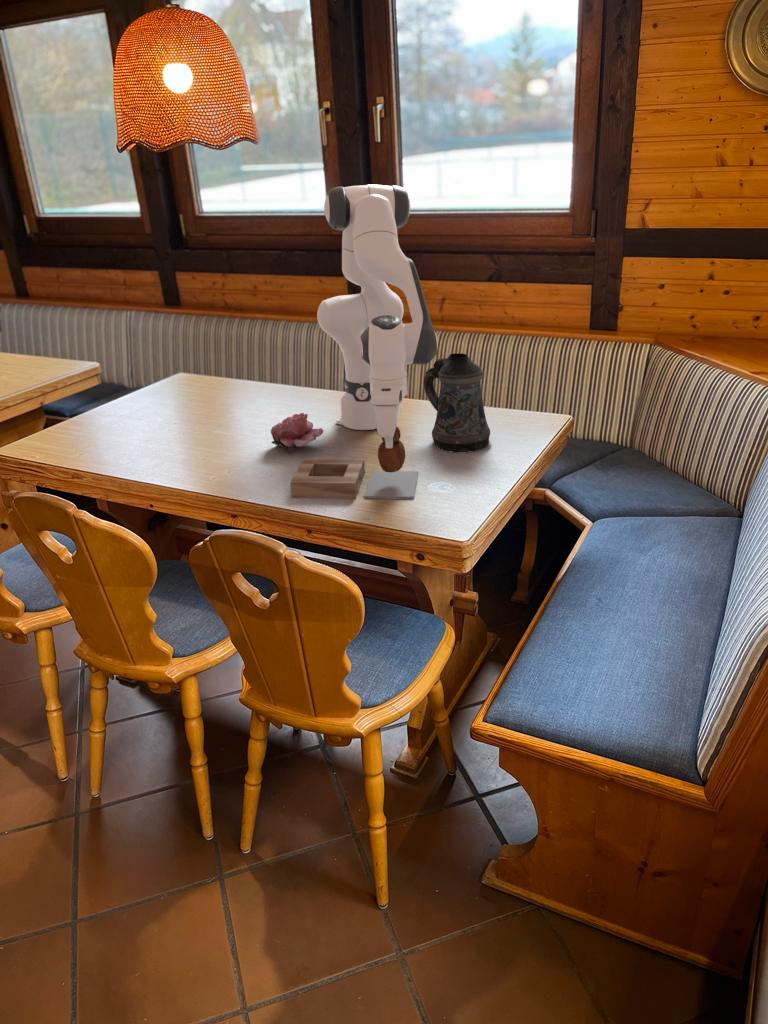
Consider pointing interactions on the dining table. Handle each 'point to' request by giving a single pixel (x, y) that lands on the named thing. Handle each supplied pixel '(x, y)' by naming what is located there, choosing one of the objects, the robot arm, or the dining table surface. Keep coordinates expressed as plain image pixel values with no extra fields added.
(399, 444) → the wooden figurine
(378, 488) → the slate mat
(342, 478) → the walnut socket block
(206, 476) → the dining table surface
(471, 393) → the beer stein
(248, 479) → the dining table surface
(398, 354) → the robot arm
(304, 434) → the flower
